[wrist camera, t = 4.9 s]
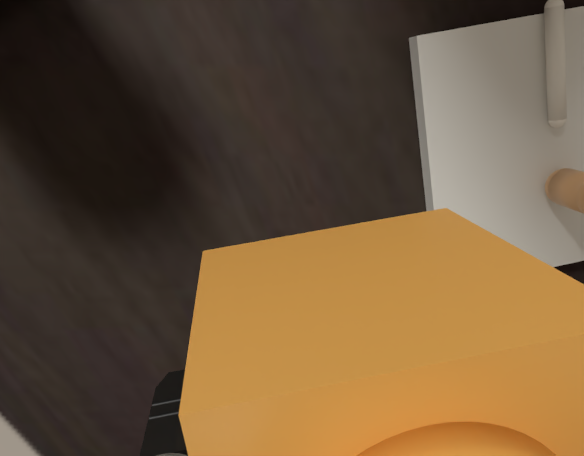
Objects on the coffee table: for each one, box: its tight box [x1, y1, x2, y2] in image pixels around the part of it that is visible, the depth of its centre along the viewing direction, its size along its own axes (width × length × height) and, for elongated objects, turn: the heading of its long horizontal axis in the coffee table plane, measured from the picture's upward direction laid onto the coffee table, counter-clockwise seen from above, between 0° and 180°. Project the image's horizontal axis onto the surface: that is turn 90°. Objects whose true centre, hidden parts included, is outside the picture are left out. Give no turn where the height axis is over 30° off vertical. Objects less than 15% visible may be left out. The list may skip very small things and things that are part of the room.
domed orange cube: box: [179, 208, 584, 456], centre depth 9 cm, size 6×6×7 cm
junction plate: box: [409, 0, 584, 267], centre depth 27 cm, size 15×14×6 cm
